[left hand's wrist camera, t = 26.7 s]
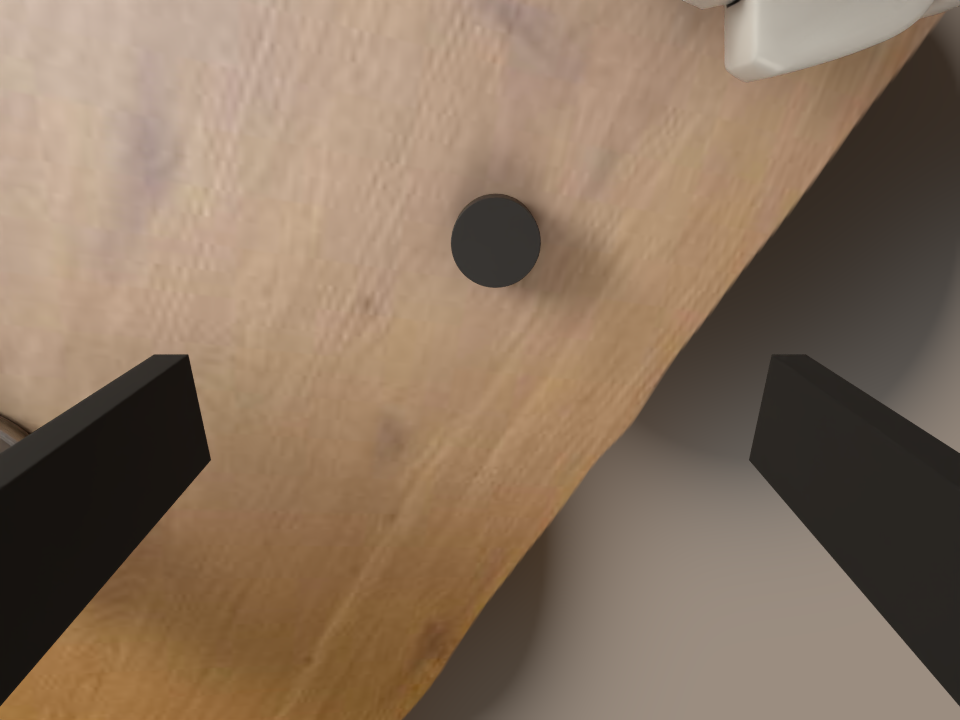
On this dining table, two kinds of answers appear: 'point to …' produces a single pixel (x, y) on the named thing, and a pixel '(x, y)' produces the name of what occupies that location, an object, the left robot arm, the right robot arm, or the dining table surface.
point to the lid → (495, 241)
